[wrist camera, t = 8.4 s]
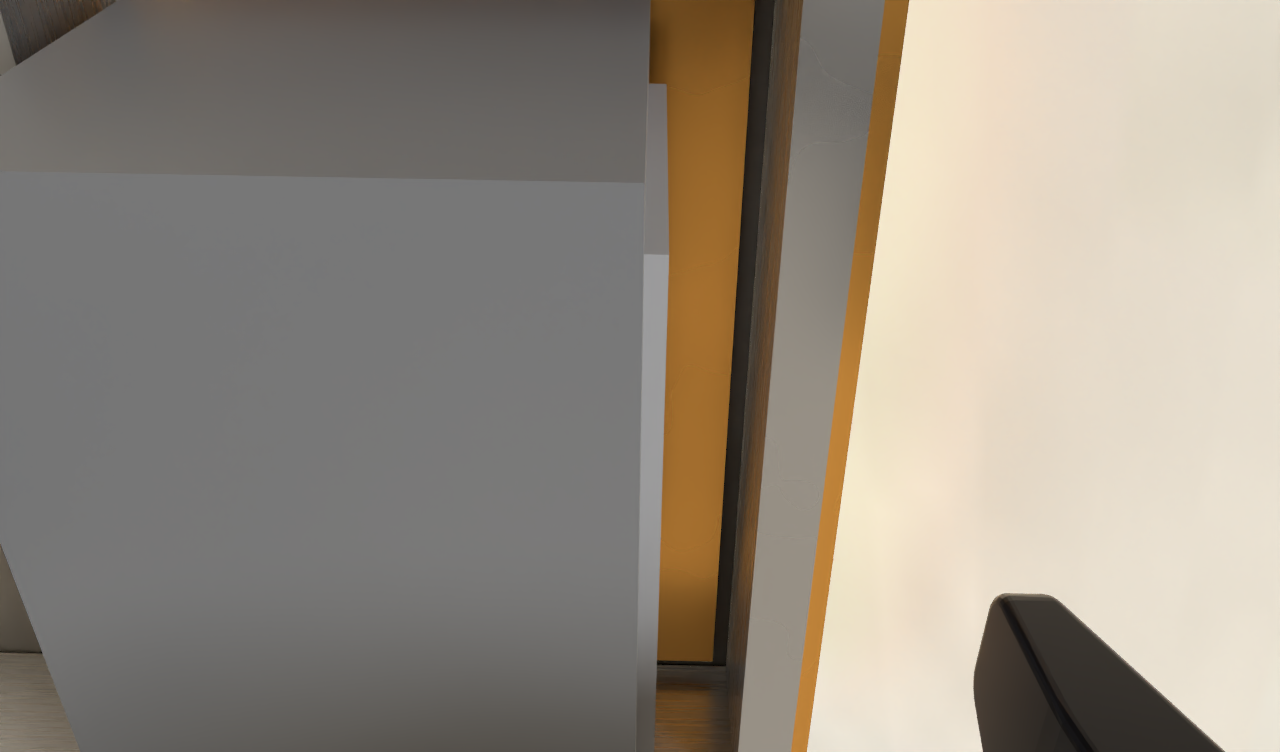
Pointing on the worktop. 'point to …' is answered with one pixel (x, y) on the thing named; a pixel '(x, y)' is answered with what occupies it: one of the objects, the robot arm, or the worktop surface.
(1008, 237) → the worktop surface
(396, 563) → the grey rectangular cuboid
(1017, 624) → the robot arm
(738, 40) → the tray
